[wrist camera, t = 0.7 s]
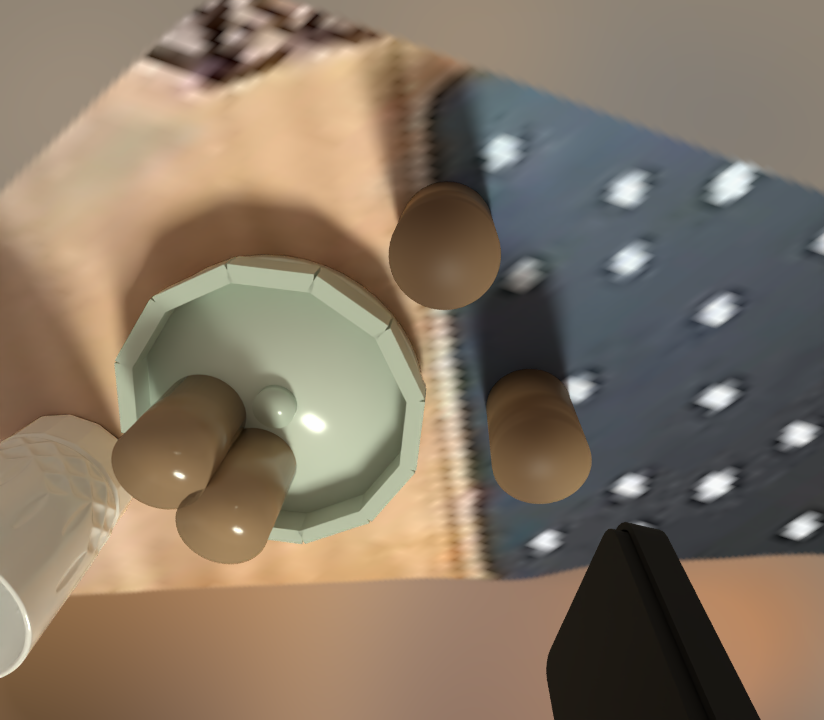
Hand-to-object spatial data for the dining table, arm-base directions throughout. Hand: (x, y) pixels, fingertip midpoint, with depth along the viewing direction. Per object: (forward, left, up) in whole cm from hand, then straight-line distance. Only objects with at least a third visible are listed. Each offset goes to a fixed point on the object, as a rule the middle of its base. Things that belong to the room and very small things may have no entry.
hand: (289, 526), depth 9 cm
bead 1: (-2, -1, -19) cm, 19 cm away
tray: (+5, +8, -19) cm, 21 cm away
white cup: (+16, +14, -19) cm, 29 cm away
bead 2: (-7, +7, -19) cm, 22 cm away
